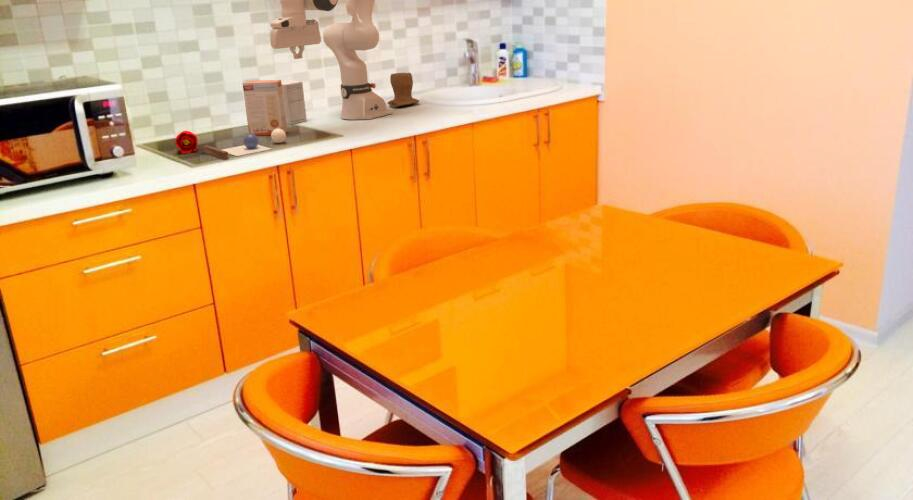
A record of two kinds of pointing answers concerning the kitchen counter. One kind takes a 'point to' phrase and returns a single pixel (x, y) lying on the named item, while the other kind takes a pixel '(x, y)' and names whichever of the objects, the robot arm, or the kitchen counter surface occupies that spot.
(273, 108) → the cracker box
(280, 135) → the cue ball
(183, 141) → the flower
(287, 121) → the supplement box
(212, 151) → the rail
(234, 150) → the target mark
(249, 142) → the navy ball
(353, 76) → the robot arm
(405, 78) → the brown flared piece
